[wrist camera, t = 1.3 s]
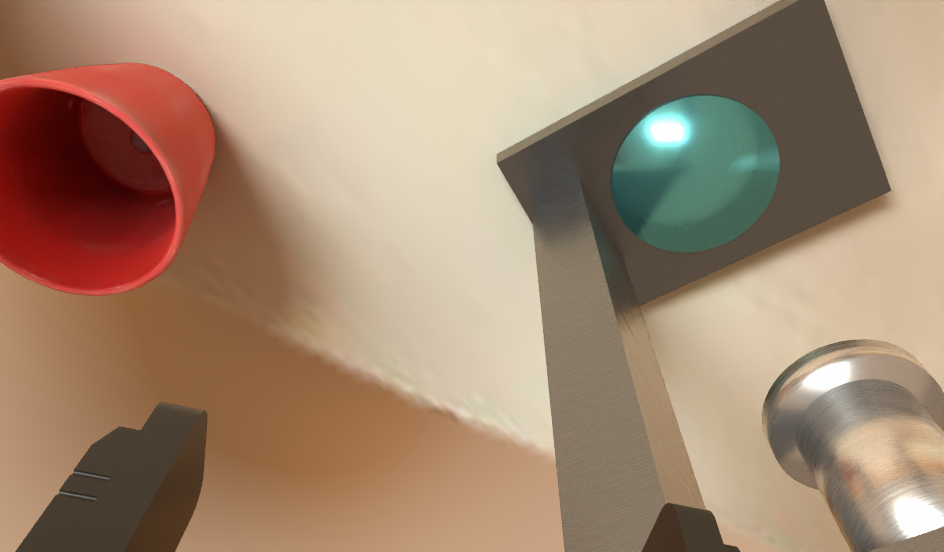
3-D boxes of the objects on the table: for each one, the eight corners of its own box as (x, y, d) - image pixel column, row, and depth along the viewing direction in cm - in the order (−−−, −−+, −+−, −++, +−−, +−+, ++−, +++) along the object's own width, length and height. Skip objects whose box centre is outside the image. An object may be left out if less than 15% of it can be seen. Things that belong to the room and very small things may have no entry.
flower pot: (181, 253, 47) (110, 339, 38) (17, 135, 43) (-102, 200, 35) (282, 129, 43) (227, 193, 34) (110, -10, 40) (2, 21, 31)
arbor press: (808, -16, 38) (1688, 288, 10) (939, 348, 48) (1575, 1029, 20) (496, 154, 43) (492, 691, 15) (673, 455, 53) (877, 1130, 24)
